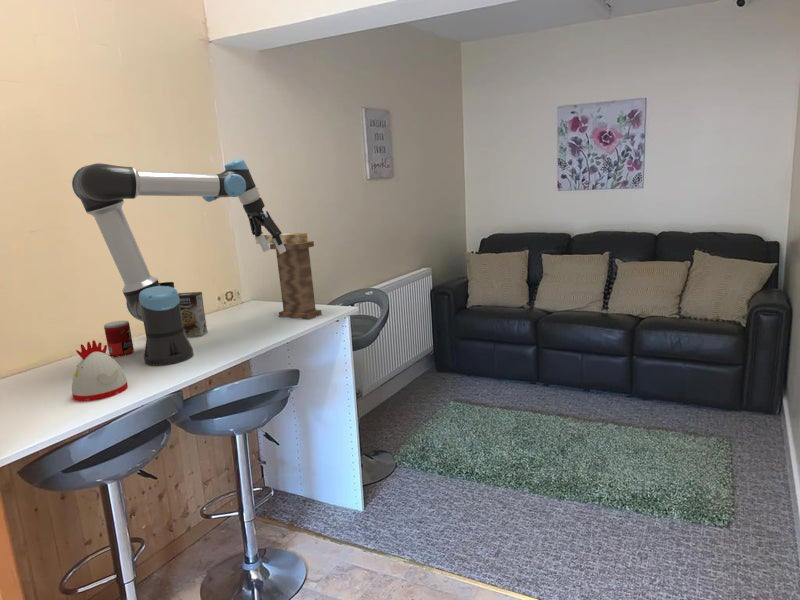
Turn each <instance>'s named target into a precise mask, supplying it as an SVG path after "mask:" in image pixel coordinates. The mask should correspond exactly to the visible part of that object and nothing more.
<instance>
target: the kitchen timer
mask: <svg viewBox="0 0 800 600" xmlns="http://www.w3.org/2000/svg"><path fill="white" fill-rule="evenodd" d="M91 343H92V344H91ZM107 349H108V345H107V344H104V346H103V349H102V342H98V344H97V342H96V340H93V339H92V342H90V341H87V342H86V347H85V345H84V344H80V350H81V351H80V350H78V349H75V352H76V353H77V354H78V356H80V360H79V362H78V364H77V365H76V367H75V370H74V373H73V377H72V384H71V393H72V394H71V395H72V399H74V401H77V402H94V401H99V400H103V399H104V400H105V399H108V398H111V397H114V396H117V395H119V394H122V393H123V392H125V391H126V390H127V389H128V380H127V377H126V375H125V373H124V371H123V369H122V368H121V365H119V363H118V362H117V360H115V359H114V357H112V356H110V354H107V353H106V352H107Z"/></svg>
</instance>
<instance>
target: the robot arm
mask: <svg viewBox="0 0 800 600" xmlns="http://www.w3.org/2000/svg"><path fill="white" fill-rule="evenodd" d="M223 167H224V171H223V172H220V173H206V172H205V173H203V172H201V173H200V172H182V171H179V172H177V171H159V170H158V171H156V170H155V171H154V170H137V169H136V168H134V167H133V166H121V165H113V164H107V163H102V162H99V163H98V162H97V163H92V164H89V165H84V166H81V167H80V168H79V169H78V170H76V172H75V173H74V175H73V177H72V180H71V186H72V190H73V192H74V194H75V196H76V197H77V198H78V200H80V201H81V203H82V206H83V208H84V210H85V212H86V214H88V215H91V216H93V218H94V220H95V222H96V224H97V226H98V229H99V231H100V233H101V235H102V237H103V239H104V242H105V244H106V246H107V248H108V251H109V252H110V255H111V257H112V259H113V261H114V264H115V266H116V269H117V270H118V273H119V275H120V276H121V277H120V278H121V279H122V282H123V284H124V286H123V288H122V293H123V296H124V297H125V301H126V304H125V305H126V308H127V311H128V312H129V314H130V315H131V316H132V317H134V319H136V320H138V321H141V322H143V328H144V333H145V338H146V341H145V347H144V353H143V361H144V364H145V365H146V366H152V367H153V366H155V367H156V366H166V365H167V366H168V365H172V364H176V363H177V364H178V363H180V362H184V361H187V360H189V359H191V358H192V357H194V349H193V346H192V344H191V343H190V341H189V338H188V337H186V335H185V333H184V328H183V321H182V315H181V309H180V302H179V300H180V299H179V296H178V294H179V293H178V291H177V288H175V287H174V288H173V287H169V286H166V287H165V286H160V284H159V283H160V282H159V279H158V277H156V276H152V275H151V273H150V271H149V269H148V267H147V264H146V262H145V260H144V257H143V255H142V252H141V250H140V248H139V245H138V243H137V241H136V238H135V236H134V234H133V232H132V230H131V227H130V225H129V223H128V220H127V218H126V215H125V213H124V210H123V206H124V205H123V204H124V203H125V200H129V199H130V200H131V199H132V200H134V199H136V198H137V197H138V196H141V197H142V196H147V197H148V196H149V197H151V196H154V197H155V196H156V197H157V196H158V197H159V196H160V197H202V199H203V200H205V201H206V202H207V203H210V202H213V201H217V199H220V198H238V199H239V202H240V203H241V204H242V207H243V211H245V214H246V216H247V219H248V222H249V226H250V230H251V234H252V235H253V236H254V237H255V236H256V237H257V239H258V241H259V243H260V244H259V245H260V247H261V250H262V252H263V253H266V252H267V251H269V250H271V249H270V245H269V244H268V243H267V241H266V239H265V237H264V235H263V234H264V232H263V230H262V227H264V228H265V229H266V231H268V234H271V235H272V236H273V237H272V239H273V241H274V243H275V245H276V247H277V249H278V251H279V254H282V253H283V252H285V251H286V249H285V247H284V244H283V242H282V240H281V238H280V236H279V235H280V234H283V232H282V230H280V228H279V226H278V225H277V224H276V222H275V221H274V219H273V218H272V217H271V215H270V213H269V211H268V210H267V211H264V210H263V209H264V208H265V202H264V201H263V199H262V197H261V195H260V192H259V188H258V187H257V186H256V183H255V181H254V179H253V176H252V174H251V172H250V169H249V167H248V165H247V163H246V162H245V160H244V159H242V158H237V159H233V160H231V161H229V162H227V163H225V164H224V166H223ZM124 199H125V200H124ZM261 234H262V235H261Z"/></svg>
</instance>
